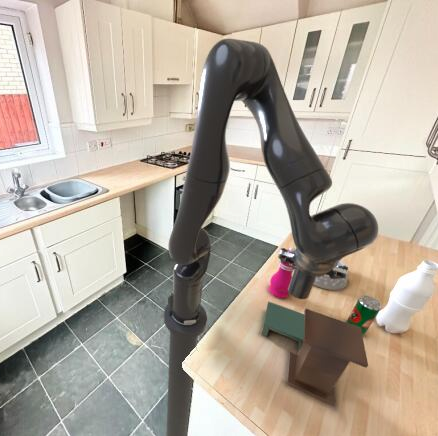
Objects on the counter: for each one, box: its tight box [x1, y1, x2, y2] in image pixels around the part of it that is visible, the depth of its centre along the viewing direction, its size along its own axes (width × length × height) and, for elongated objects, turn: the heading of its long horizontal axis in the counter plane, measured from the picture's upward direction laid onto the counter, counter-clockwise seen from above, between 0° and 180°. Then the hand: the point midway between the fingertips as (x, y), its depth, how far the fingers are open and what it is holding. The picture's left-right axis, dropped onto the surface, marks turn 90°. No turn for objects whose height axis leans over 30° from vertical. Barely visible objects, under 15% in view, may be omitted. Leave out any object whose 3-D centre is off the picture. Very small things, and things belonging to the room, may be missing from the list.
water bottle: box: [375, 259, 438, 334], centre depth 70 cm, size 7×7×25 cm
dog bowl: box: [313, 260, 349, 291], centre depth 96 cm, size 17×18×5 cm
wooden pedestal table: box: [286, 308, 369, 407], centre depth 58 cm, size 11×10×18 cm
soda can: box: [345, 295, 382, 335], centre depth 72 cm, size 5×5×12 cm
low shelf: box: [260, 301, 304, 351], centre depth 74 cm, size 12×10×5 cm
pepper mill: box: [269, 246, 296, 299], centre depth 84 cm, size 7×7×20 cm
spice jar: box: [288, 267, 317, 300], centre depth 64 cm, size 5×5×11 cm
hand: (306, 268), depth 65 cm, fingers closed on spice jar, 5 cm apart
